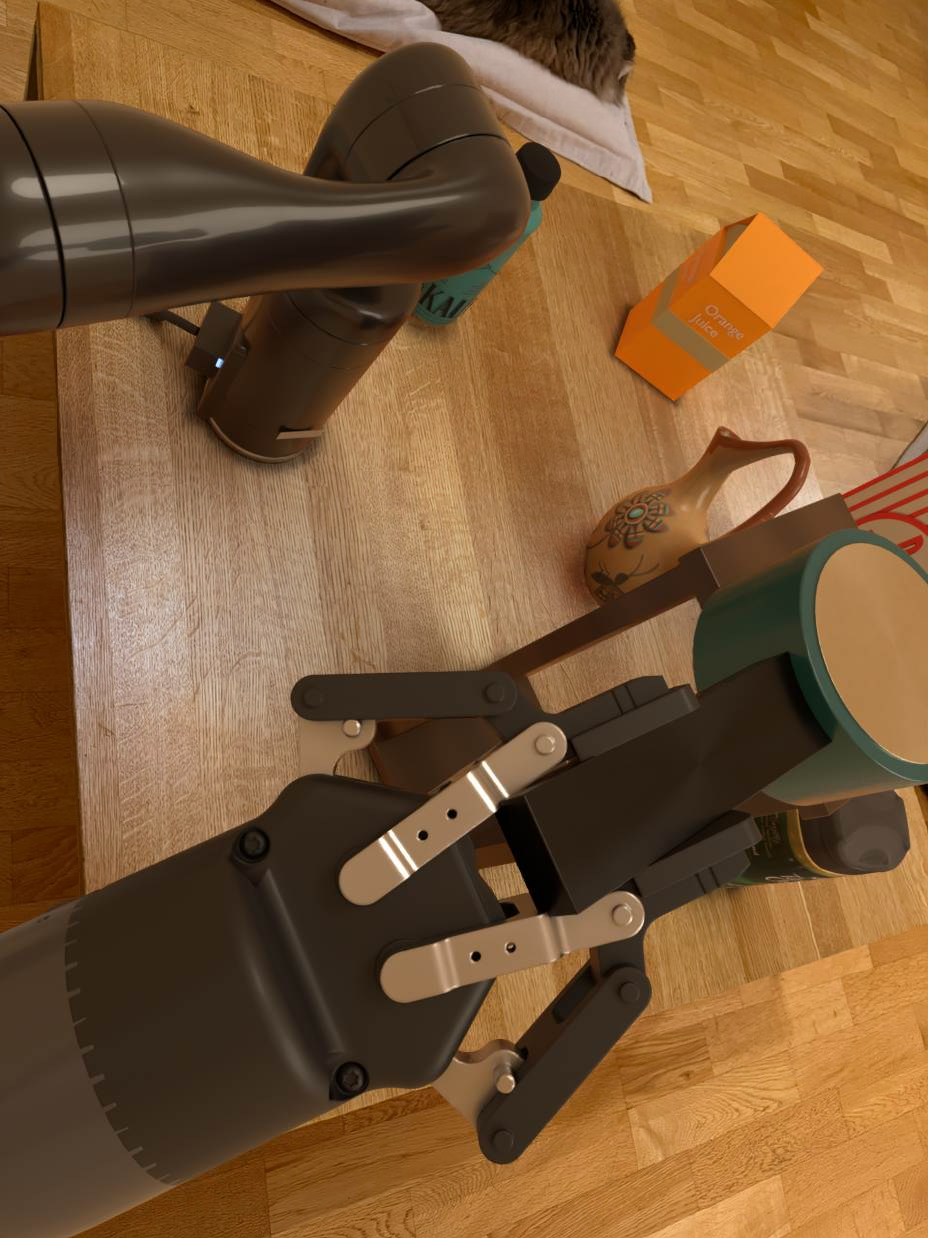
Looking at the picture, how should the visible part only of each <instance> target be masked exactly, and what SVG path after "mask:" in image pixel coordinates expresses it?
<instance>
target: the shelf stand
mask: <svg viewBox="0 0 928 1238" xmlns="http://www.w3.org/2000/svg"><path fill="white" fill-rule="evenodd" d="M842 529H859V528H858V526H857V524H856V522H855V520H854V518H853V516H852V514H851V512H850V510H849V508H848V507H847V505H846V503H845V501H844V499H843V497H842V493H841V492H837V493H835V494H832V495H830V496H829V495H828V496H827V497H824V498H822V499H821V498H820V499H819V500H816V501H814V502H811V503H809V504H806V505H803V506H800V507H798V508H796V509H794V510H791V511H787V512H785V513H782V514H780V515H776V516H775V517H774V518H772V519H770V520H767V521H764V522H762V523H759V524H757V525H754V526H752V527H749V528H746V529H744V530H741V531H739V532H736V533H733V534H731V535H728V536H726V537H723V538H720V539H718V540H715V541H713V542H710V543H708V544H705V545H702V546H700V547H698V548H696V549H694V550H692V551H690V552H688V553H686V554H685V555H683V556H681V557H679V558H678V561H679V563H680V565H679V566H677V567H675V568H673V569H671V570H669V571H667V572H665V573H663V574H661V575H660V576H658V577H656V578H654V579H652V580H650V581H648V582H646V583H644V584H642V585H640V586H639V587H637V588H635V589H633V590H631V591H629V592H627V593H625V594H623V595H621V596H619V597H618V598H616V599H614V600H612V601H610V602H608V603H606V604H604V605H602V606H598V607H596V608H595V609H593V610H591V611H589V612H587V613H585V614H583V615H581V616H579V617H578V618H575V619H573V620H572V621H570V622H568V623H566V624H564V625H562V626H560V627H558V628H556V629H554V630H552V631H551V632H548V633H547V634H545V635H542V636H541V637H539V638H537V639H536V640H534V641H531V642H529V643H527V644H525V645H524V646H522V647H520V648H518V649H516V650H515V651H512V652H511V653H509V654H507V655H505V656H503V657H501V658H499V659H497V660H495V661H493V662H491V663H490V664H487V665H485V666H484V667H482V668H480V669H479V670H499V671H503V672H505V673H507V674H508V675H510V676H511V677H512V678H513V680H514V681H515V683H516V686H517V689H518V690H519V691H520V692H521V693H522V694H523V695H524V696H525V697H526V698H527V699H528V700H529V701H530V702H531V703H532V704H533V705H534V706H535V707H536V708H538V709H539V710H541V711H543V712H544V710H543V708H542V706H541V703H540V702H539V698H538V697H537V695H536V693H535V690H534V688H533V686H532V684H531V681H530V679H529V677H531V676H534V675H535V674H537V673H539V672H542V671H543V670H546V669H547V668H550V667H553V666H554V665H556V664H558V663H560V662H563V661H565V660H567V659H569V658H571V657H574V656H575V655H578V654H580V653H582V652H584V651H587V650H588V649H590V648H592V647H594V646H596V645H598V644H602V643H603V642H604V641H607V640H609V639H612V638H613V637H616V636H617V635H620V634H622V633H624V632H626V631H628V630H630V629H633V628H634V627H636V626H640V625H641V624H644V623H645V622H647V621H650V620H652V619H653V618H656V617H658V616H660V615H663V614H665V613H667V612H669V611H671V610H673V609H674V608H677V607H679V606H681V605H683V604H686V603H687V602H689V601H692V600H694V599H696V601H697V603H698V605H699V607H700V609H701V610H702V609H703V607H704V605H705V603H706V602H707V600H708V599H709V598H710V597H711V595H712V594H713V593H714V592H715V591H716V590H717V589H718V588H719V587H721V586H722V585H724V584H725V583H727V582H729V581H731V580H733V579H735V578H737V577H739V576H741V575H743V574H746V573H748V572H750V571H752V570H754V569H756V568H758V567H760V566H763V565H765V564H767V563H769V562H771V561H773V560H775V559H777V558H780V557H782V556H784V555H786V554H788V553H790V552H792V551H794V550H796V549H799V548H801V547H803V546H805V545H807V544H809V543H811V542H813V541H816V540H818V539H820V538H822V537H824V536H826V535H828V534H830V533H832V532H836V531H839V530H842ZM500 742H501V740H500V739H499V738H498V737H497V736H496V735H495V734H494V733H493V732H492V731H491V730H490V729H489V728H488V727H487V726H486V725H485V724H484V723H483V722H482V721H481V720H480V718H469V719H434V720H398V721H377V730H376V735H375V738H374V739H373V741H372V742H371V743H370V744H369V745H368V746H367V747H366V748H367V749H368V751H369V753H370V756H371V758H372V760H373V764H374V765H375V767H376V769H377V772H378V774H379V776H380V779H381V782H382V784H384V785H389V786H394V787H399V788H404V789H408V790H413V791H418V792H423V793H427V794H428V793H429V792H430V791H432V790H433V789H435V788H436V787H437V786H439V785H440V784H442V783H443V782H444V781H446V780H447V779H448V778H450V777H451V776H453V775H454V774H455V773H457V772H458V771H460V770H461V769H462V768H464V767H465V766H467V765H469V764H470V763H472V762H473V761H475V760H476V759H478V758H479V757H480V756H482V755H483V754H485V753H486V752H487V751H489V750H490V749H492V748H493V747H494V746H496V745H497V744H498V743H500ZM566 763H568V761H565V762H563V763H561V764H559V765H556V766H554V767H553V768H551V769H550V770H549V771H547V772H546V773H544V774H543V775H542V776H544V775H546V774H548V773H549V772H551V771H553V770H555V769H557V768H559V767H561V766H563V765H564V764H566ZM542 776H540V777H542ZM540 777H539V778H540ZM850 799H852V798H848V799H843V800H838V801H832V802H827V803H822V804H817V805H809V806H801V805H793V804H789V803H785V802H781V801H779V800H777V799H775V798H772V797H770V796H768V795H767V794H765V793H764V792H762V791H760V792H758V793H757V794H755V795H754V796H752V797H751V798H749V799H748V800H746V801H745V802H743V803H742V804H741V805H739V806H738V807H736V808H735V809H733V810H737V811H742V812H747V813H751V815H752V817H753V818H754V817H759V816H764V815H770V814H775V813H780V812H785V811H791V810H796V809H798V811H799V813H800V815H801V817H802V819H803V820H807V819H813V818H818V817H824V816H829V815H831V814H832V813H833V812H835V811H836V810H837V809H838V808H840V807H841V806H842V805H844V804H845V803H846V802H848V801H849V800H850ZM468 833H469V835H470V838H471V840H472V842H473V844H474V850H475V856H476V862H477V868H478V871H479V870H483V869H488V868H490V869H491V868H495V867H499V866H504V865H510V864H516V862H515V860H514V858H513V855H512V853H511V851H510V849H509V846H508V844H507V842H506V840H505V838H504V835H503V833H502V831H501V829H500V826H499V824H498V822H497V820H496V817H495V815H494V814H492V815H491V816H490V817H488V818H487V819H486V820H484V821H483V822H481V823H480V824H479V825H477V826H476V827H475V828H473V829H472V830H471V831H469V832H468Z"/></svg>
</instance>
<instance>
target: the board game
mask: <svg viewBox="0 0 928 1238" xmlns="http://www.w3.org/2000/svg"><path fill="white" fill-rule="evenodd" d="M841 495H842V497H843V499H844V501H845V503H846V505H847V507H848V508H849V510H850V512H851V514H852V516H853V518H854V520H855V522H856V524H857V526H858V528H859V529H861V530H866V531H870V532H873V533H876V534H878V535H880V536H883V537H885V538H887V539H888V540H890V541H892V542H893V543H895V544H896V545H898V546H899V547H900V548H902V549H903V550H904V551H905V552H907V553H908V554H909V555H910V556H911V557H912V558H913V559H914V560H915V561H916V562H917V563H918V564H919V565H920V566H921V567H922V568H923V569H924V570H925V572H926V573H927V574H928V451H927V452H926V453H923V454H921V455H919V456H917V457H915V458H913V459H911V460H910V461H907V462H906V463H905V462H904V463H903V464H900V465H899V466H897V467H895V468H893V469H890V470H888V471H887V472H885V473H882V474H881V475H879V476H877V477H875V478H873V479H870V480H868V481H867V482H865V483H863V484H861V485H859V486H857V487H855V488H853V489H851V490H849V491H847V492H844V493H841Z"/></svg>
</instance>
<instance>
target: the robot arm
mask: <svg viewBox="0 0 928 1238" xmlns="http://www.w3.org/2000/svg"><path fill="white" fill-rule="evenodd" d="M515 153H516V152H515V151H514V149H513V147H512V145H511V143H510V141H509V138H508V137H507V135H506V133H505V131H504V129H503V127H502V125H501V123H500V121H499V119H498V117H497V115H496V113H495V111H494V110H493V107H492V105H491V104H490V101H489V99H488V97H487V95H486V94H485V91H484V89H483V88H482V86H481V83H480V82H479V80H478V77H477V76H476V74H475V73H474V71H473V69H472V68H471V66H470V65H469V64H468V62H467V61H466V60H465V58H464V57H463V56H462V54H460V53H459V52H458V51H456V50H455V49H453V48H452V47H450V46H448V45H446V44H442V43H439V42H434V41H416V42H415V41H414V42H410V43H406V44H404V45H403V44H402V45H401V46H398V47H395V48H393V49H391V50H389V51H387V52H386V53H384V54H382V55H381V56H379V57H378V58H377V59H375V60H374V61H372V62H371V63H370V64H369V65H368V66H366V67H365V68H364V69H363V70H362V71H360V72H359V74H358V75H357V76H356V77H354V79H353V80H352V81H351V83H349V85H348V86H347V87H346V89H345V90H344V91H343V93H342V94H341V95H340V97H339V98H338V100H337V101H336V103H335V104H334V106H333V108H332V110H331V111H330V113H329V114H328V117H327V118H326V120H325V122H324V124H323V126H322V128H321V131H320V133H319V135H318V137H317V140H316V142H315V145H314V147H313V149H312V151H311V153H310V156H309V158H308V160H307V163H306V165H305V167H304V170H303V172H302V174H301V173H298V172H295V171H290V170H287V169H284V168H282V167H279V166H277V165H275V164H272V163H269V162H268V161H264V160H261V159H260V158H257V157H254V156H253V155H250V154H248V153H246V152H244V151H242V150H239V149H237V148H235V147H233V146H231V145H229V144H226V143H224V142H222V141H220V140H218V139H216V138H214V137H211V136H209V135H207V134H205V133H202V132H201V131H198V130H196V129H193V128H191V127H189V126H186V125H183V124H181V123H180V122H176V121H174V120H171V119H169V118H167V117H164V116H163V115H159V114H156V113H154V112H150V111H147V110H144V109H141V108H139V107H135V106H132V105H128V104H126V103H125V104H124V103H120V102H115V101H110V100H102V99H82V98H81V99H80V98H79V99H77V98H75V99H72V98H71V99H70V98H69V99H41V100H40V99H39V100H16V101H0V338H3V337H11V336H21V335H29V334H38V333H39V334H40V333H45V332H46V333H47V332H53V331H58V330H65V329H70V328H78V327H82V326H89V325H95V324H103V323H108V322H113V321H119V320H125V319H130V318H134V317H138V316H146V317H149V318H152V319H155V320H158V321H161V322H168V323H169V324H171V325H173V326H175V327H177V328H179V329H181V330H183V331H185V332H187V333H188V334H190V335H192V336H193V337H194V340H193V342H192V345H191V347H190V349H189V352H188V355H187V357H186V359H185V361H184V365H183V366H184V367H186V368H188V369H190V370H192V371H194V372H196V373H198V374H200V375H202V376H204V377H207V380H205V381H206V382H205V384H204V387H203V391H202V392H203V393H202V395H201V398H200V400H199V402H198V405H197V408H196V410H195V415H196V416H198V417H199V418H200V419H203V420H205V421H207V422H208V423H209V425H210V427H211V428H212V430H213V431H214V432H215V434H216V436H217V437H218V438H219V439H220V440H221V441H222V442H223V443H224V444H225V445H227V446H228V447H229V448H230V449H231V450H233V451H234V452H236V453H238V454H239V455H241V456H243V457H245V458H247V459H250V460H253V461H257V462H261V463H268V464H269V463H272V464H274V463H285V462H287V461H288V462H289V461H291V460H293V459H295V458H297V457H299V456H300V455H301V454H303V453H304V452H305V451H306V450H307V449H308V448H309V447H310V445H311V444H312V442H313V441H314V439H315V438H317V437H321V436H322V435H323V434H324V432H325V431H326V429H322V428H323V427H324V425H325V424H326V423H327V422H328V420H329V419H330V418H331V417H332V415H333V414H334V413H335V411H336V410H337V409H338V407H339V406H340V405H341V404H342V403H343V401H344V400H345V399H346V397H347V396H348V395H349V394H350V393H351V391H352V390H353V389H354V387H356V386H357V384H358V382H359V381H361V379H362V377H363V376H364V375H365V374H366V372H367V371H368V370H369V369H370V368H371V366H372V365H373V364H374V362H375V361H377V359H378V357H379V356H380V355H381V354H382V352H383V351H384V350H385V349H386V347H387V346H388V345H389V344H390V342H391V341H392V340H393V338H395V336H396V335H397V333H398V332H399V331H400V329H401V328H402V327H403V326H404V324H405V323H406V322H407V320H409V318H410V317H411V315H412V314H413V311H414V309H415V307H416V305H417V302H418V300H419V296H420V292H421V284H422V283H424V282H432V281H437V280H442V279H446V278H450V277H454V276H458V275H461V274H464V273H466V272H469V271H472V270H474V269H477V268H479V267H482V266H484V265H486V264H488V263H489V262H491V261H493V260H494V259H496V258H498V257H499V256H500V255H502V254H503V253H504V252H506V251H507V250H508V249H510V248H511V247H512V246H513V245H514V244H515V243H516V242H517V240H518V239H519V238H520V236H521V235H522V234H523V232H524V230H525V228H526V226H527V223H528V220H529V217H530V212H531V199H530V194H529V189H528V185H527V182H526V180H525V176H524V173H523V170H522V168H521V165H520V163H519V161H518V159H517V157H516V155H515ZM242 298H248V299H247V301H246V303H245V305H244V307H243V308H242V310H241V312H239V311H237V310H235V309H233V308H231V307H230V306H227V305H225V304H223V303H222V301H228V300H229V301H230V300H235V299H242ZM209 303H210V304H209ZM204 304H209V305H208V307H207V309H206V312H205V314H204V316H203V318H202V320H201V323H200V325H197V324H195V323H193V322H191V321H189V320H188V319H186V318H184V317H183V316H180V315H179V314H176V313H175V312H173V311H171V310H172V309H179V308H185V307H190V306H196V305H204ZM290 691H291V692H290V704H291V708H292V709H293V711H294V713H295V714H296V715H297V717H298V725H297V726H298V777H297V778H296V779H294V780H292V781H291V782H290V783H288V784H287V785H286V786H285V787H284V788H283V789H282V790H281V791H280V793H279V794H278V795H277V797H276V799H275V800H274V801H273V802H272V803H271V805H270V806H269V807H267V809H265V810H264V811H263V812H262V813H260V814H259V815H258V816H256V817H254V818H252V819H250V820H248V821H245V822H244V823H241V824H239V825H236V826H235V827H232V828H230V829H228V830H226V831H224V832H221V833H219V834H217V835H214V836H213V837H211V838H208V839H205V840H203V841H201V842H200V843H196V844H195V845H193V846H190V847H188V848H186V849H184V850H182V851H179V852H177V853H174V854H172V855H170V856H168V857H166V858H163V859H162V860H160V861H156V862H155V863H152V864H151V865H148V866H146V867H143V868H142V869H140V870H137V871H135V872H133V873H130V874H129V875H127V876H126V875H125V876H124V877H122V878H120V879H117V880H115V881H113V882H111V883H109V884H106V885H105V886H104V887H102V888H99V889H95V890H93V891H91V892H89V893H86V894H85V895H82V896H80V897H74V898H71V899H67V900H64V901H62V902H59V903H57V904H54V905H53V906H51V907H49V908H47V909H46V910H45V911H44V912H43V913H42V914H40V915H37V916H36V917H33V918H32V919H30V920H27V921H25V922H23V923H21V924H19V925H16V926H14V927H11V928H9V929H8V930H5V931H3V932H1V933H0V1238H72V1237H74V1236H76V1235H79V1234H81V1233H83V1232H85V1231H87V1230H90V1229H93V1228H94V1227H97V1226H99V1225H101V1224H103V1223H105V1222H107V1221H109V1220H111V1219H113V1218H115V1217H117V1216H120V1215H121V1214H123V1213H125V1212H128V1211H130V1210H131V1209H134V1208H136V1207H138V1206H140V1205H142V1204H144V1203H146V1202H148V1201H150V1200H152V1199H155V1198H156V1197H158V1196H161V1195H162V1194H164V1193H166V1192H168V1191H170V1190H172V1189H174V1188H177V1187H178V1186H180V1185H183V1184H185V1183H186V1182H189V1181H190V1180H192V1179H195V1178H197V1177H199V1176H202V1175H203V1174H205V1173H207V1172H210V1171H211V1170H213V1169H215V1168H217V1167H219V1166H221V1165H223V1164H226V1163H227V1162H229V1161H231V1160H233V1159H235V1158H237V1157H239V1156H241V1155H243V1154H245V1153H247V1152H249V1151H251V1150H253V1149H255V1148H257V1147H259V1146H262V1145H264V1144H265V1143H267V1142H269V1141H272V1140H273V1139H276V1138H278V1137H281V1136H282V1135H283V1134H286V1133H287V1132H289V1131H291V1130H294V1129H296V1128H298V1127H300V1126H302V1125H304V1124H306V1123H308V1122H310V1121H312V1120H314V1119H316V1118H318V1117H320V1116H322V1115H324V1114H327V1113H329V1112H330V1111H333V1110H334V1109H337V1108H339V1107H340V1106H343V1105H344V1104H347V1103H348V1102H350V1101H352V1100H354V1099H355V1098H358V1097H360V1096H361V1095H364V1094H366V1093H368V1092H372V1091H375V1090H381V1089H400V1090H401V1089H403V1090H415V1089H421V1088H425V1087H427V1086H429V1085H430V1086H431V1087H432V1088H433V1089H434V1090H435V1091H436V1092H438V1094H439V1095H440V1096H441V1097H443V1099H444V1100H446V1101H447V1102H448V1103H449V1104H450V1105H451V1107H452V1108H453V1109H454V1110H456V1111H457V1112H458V1113H459V1114H460V1115H461V1116H462V1117H463V1118H464V1119H465V1120H466V1121H467V1122H468V1123H469V1124H470V1125H471V1126H472V1127H473V1128H474V1129H475V1131H476V1135H477V1140H478V1146H479V1148H480V1152H481V1153H482V1155H483V1156H484V1158H486V1159H487V1160H488V1161H489V1162H490V1163H492V1164H496V1165H501V1166H502V1165H503V1166H504V1165H509V1164H512V1163H514V1162H515V1161H517V1160H518V1159H519V1158H520V1157H521V1156H522V1155H523V1153H524V1152H526V1150H527V1149H528V1148H529V1146H531V1144H532V1143H533V1142H534V1141H535V1139H537V1137H538V1136H539V1135H540V1134H541V1132H542V1131H543V1130H544V1129H545V1128H546V1127H547V1125H548V1124H549V1123H550V1122H551V1121H552V1120H553V1118H554V1117H555V1116H556V1115H557V1114H558V1113H559V1111H560V1110H561V1109H562V1108H563V1107H564V1106H565V1105H566V1103H567V1102H568V1101H569V1100H570V1098H571V1097H572V1096H573V1095H574V1094H575V1093H576V1091H577V1090H578V1089H579V1088H580V1086H581V1085H582V1084H583V1083H584V1082H585V1081H586V1080H587V1078H588V1077H589V1076H590V1075H591V1074H592V1073H593V1071H594V1070H595V1069H596V1068H597V1067H598V1066H599V1064H600V1063H601V1062H602V1061H603V1059H604V1058H605V1057H606V1056H607V1055H608V1054H609V1052H610V1051H611V1050H612V1049H613V1048H614V1046H616V1044H617V1043H618V1042H619V1041H620V1040H621V1038H623V1036H624V1035H625V1034H626V1032H627V1031H628V1030H629V1029H630V1027H632V1026H633V1024H634V1023H635V1022H636V1021H637V1019H638V1018H639V1017H640V1016H641V1015H642V1013H643V1012H644V1011H645V1010H646V1009H647V1007H648V1006H649V1005H650V1002H651V1000H652V996H653V988H652V987H653V986H652V984H651V981H650V979H649V977H648V976H647V971H646V960H645V951H644V941H645V936H646V933H647V931H648V929H649V927H650V926H651V925H652V923H654V922H655V921H656V920H657V919H659V918H660V917H663V916H665V915H667V914H669V913H671V912H673V911H675V910H677V909H680V908H681V907H683V906H685V905H687V904H689V903H692V902H694V901H695V900H697V899H699V898H702V897H703V896H705V895H707V894H710V893H712V892H714V891H716V890H717V889H720V888H719V887H722V886H724V885H726V884H728V883H730V882H732V881H734V880H736V879H738V878H739V877H740V876H741V875H742V873H743V872H744V871H745V870H746V869H747V868H748V867H749V866H750V864H751V863H750V861H749V859H748V856H747V854H746V852H745V849H747V848H749V847H751V846H753V845H755V844H757V843H758V842H760V841H761V840H762V836H761V834H760V831H759V829H758V827H757V825H756V823H755V821H754V819H753V817H752V815H751V813H747V812H742V811H737V810H731V811H730V812H728V813H727V814H725V815H724V816H722V817H721V818H719V819H718V820H716V821H715V822H713V823H712V824H710V825H709V826H707V827H706V828H704V829H703V830H701V831H700V832H698V833H697V834H696V835H694V836H693V837H691V838H690V839H688V840H687V841H685V842H684V843H682V844H681V845H679V846H678V847H676V848H675V849H673V850H672V851H670V852H669V853H667V854H666V855H664V856H663V857H662V858H660V859H659V860H657V861H656V862H654V863H653V864H651V865H650V866H648V867H647V868H646V869H645V870H643V871H642V872H640V873H639V874H637V875H636V876H634V877H633V878H631V879H630V880H629V881H627V882H626V883H624V884H623V885H621V886H620V887H618V888H617V889H615V890H614V891H612V892H611V893H609V894H608V895H606V896H605V897H603V898H602V899H601V900H599V901H598V902H596V903H595V904H593V905H592V906H590V907H589V908H587V909H586V910H584V911H583V912H581V913H580V914H578V915H573V916H562V917H552V918H551V916H550V913H549V911H538V910H537V909H536V907H535V905H534V902H533V900H532V898H531V896H530V894H529V892H523V893H520V894H515V895H512V896H507V897H504V898H503V897H502V898H500V899H498V898H497V895H496V893H495V892H494V891H493V889H492V887H490V885H489V883H488V882H487V881H486V880H485V879H484V878H483V876H482V875H481V874H480V873H479V870H478V868H477V862H476V856H475V850H474V844H473V842H472V840H471V838H470V835H469V833H468V832H469V831H471V830H472V829H473V828H475V827H476V826H477V825H479V824H480V823H481V822H483V821H484V820H486V819H487V818H488V817H490V816H491V815H492V814H494V813H495V812H496V811H497V810H499V809H500V808H501V807H502V805H501V804H500V801H501V800H502V799H504V798H506V797H508V796H510V795H512V794H514V793H516V792H518V791H521V790H523V789H524V788H525V787H527V786H528V785H530V784H531V783H532V782H534V781H535V780H536V779H538V778H539V777H540V776H542V775H543V774H544V773H546V772H547V771H549V770H550V769H551V768H553V767H554V766H556V765H559V764H561V763H563V762H565V761H566V762H570V761H577V762H582V761H584V760H586V759H589V758H591V757H593V756H598V755H600V754H602V753H604V752H606V751H608V750H610V749H613V748H615V747H617V746H619V745H621V744H623V743H625V742H628V741H630V740H632V739H634V738H636V737H638V736H641V735H643V734H645V733H647V732H649V731H651V730H653V729H656V728H658V727H660V726H662V725H664V724H666V723H668V722H671V721H673V720H675V719H677V718H679V717H681V716H683V715H686V714H688V713H690V712H692V711H694V710H696V709H698V708H699V707H700V704H699V702H698V700H697V698H696V695H695V694H696V693H695V691H694V689H693V686H692V685H691V683H690V682H689V683H683V684H679V685H674V686H672V687H670V688H669V686H668V684H667V682H666V680H665V677H664V676H663V674H657V675H642V676H638V677H634V678H631V679H629V680H627V681H624V682H622V683H621V684H618V685H616V686H614V687H611V688H609V689H607V690H605V691H602V692H600V693H598V694H596V695H594V696H592V697H590V698H588V699H585V700H583V701H581V702H579V703H577V704H574V705H572V706H570V707H568V708H565V709H563V710H561V711H559V712H556V713H551V712H546V711H544V710H543V711H541V710H539V709H538V708H536V707H535V706H534V705H533V704H532V703H531V702H530V701H529V700H528V699H527V698H526V697H525V696H524V695H523V694H522V693H521V692H520V691H519V690H518V689H517V686H516V683H515V681H514V680H513V678H512V677H511V676H510V675H508V674H507V673H505V672H503V671H499V670H480V669H478V670H477V669H476V670H446V671H445V670H443V671H442V670H441V671H439V670H438V671H405V672H403V671H402V672H401V671H399V672H365V673H360V672H359V673H358V672H357V673H325V674H324V673H321V674H319V673H318V674H308V675H306V676H303V677H301V678H299V679H298V680H297V681H296V682H295V684H293V687H292V689H291V690H290ZM469 718H480V720H481V721H482V722H483V723H484V724H485V725H486V726H487V727H488V728H489V729H490V730H491V731H492V732H493V733H494V734H495V735H496V736H497V737H498V738H499V739H500V740H501V742H500V743H498V744H497V745H496V746H494V747H493V748H492V749H490V750H489V751H487V752H486V753H485V754H483V755H482V756H480V757H479V758H478V759H476V760H475V761H473V762H472V763H470V764H469V765H467V766H465V767H464V768H462V769H461V770H460V771H458V772H457V773H455V774H454V775H453V776H451V777H450V778H448V779H447V780H446V781H444V782H443V783H442V784H440V785H439V786H437V787H436V788H435V789H433V790H432V791H430V792H429V793H428V794H427V793H423V792H418V791H413V790H408V789H404V788H399V787H394V786H389V785H384V783H379V782H374V781H369V780H365V779H361V778H360V779H359V778H354V777H350V776H345V775H340V774H337V773H336V772H337V767H338V764H339V763H340V761H341V760H342V758H343V757H345V756H346V755H347V754H348V753H350V752H354V751H359V750H363V749H365V748H368V747H367V746H368V745H369V744H370V743H371V742H372V741H373V739H374V738H375V735H376V730H377V721H398V720H434V719H469ZM509 946H510V947H509ZM511 946H512V947H511ZM583 950H588V952H589V955H588V956H589V958H588V959H587V961H585V963H584V964H583V965H582V966H581V968H579V970H578V971H577V972H576V973H575V974H574V975H573V977H571V979H570V980H569V981H568V983H567V984H566V985H565V986H564V987H563V988H562V989H561V990H560V992H559V993H558V994H557V995H556V996H555V998H554V999H553V1000H552V1001H551V1002H550V1003H549V1004H548V1006H546V1008H545V1009H544V1010H543V1012H541V1013H540V1015H539V1016H538V1017H537V1018H536V1019H535V1020H534V1021H533V1023H532V1024H531V1025H530V1026H529V1028H527V1029H526V1031H525V1032H524V1033H523V1034H522V1035H521V1037H520V1038H519V1039H518V1040H517V1041H516V1043H514V1042H513V1041H511V1040H508V1039H506V1038H495V1039H492V1040H490V1041H489V1042H486V1043H485V1045H483V1046H482V1047H481V1048H479V1049H477V1050H474V1051H463V1050H459V1049H460V1047H461V1045H462V1043H463V1041H464V1039H465V1038H466V1036H467V1034H468V1033H469V1030H470V1028H471V1027H472V1025H473V1023H474V1021H475V1019H476V1017H477V1015H478V1014H479V1012H480V1010H481V1008H482V1006H483V1004H484V1002H485V1000H486V999H487V997H488V995H489V994H490V992H491V990H492V987H493V986H494V984H495V982H496V980H497V979H498V978H499V977H503V976H506V975H511V974H514V973H518V972H522V971H525V970H529V969H534V968H537V967H542V966H545V965H549V964H552V963H554V962H557V961H559V960H561V959H562V958H563V957H564V956H567V955H569V954H572V953H576V952H579V951H583Z"/></svg>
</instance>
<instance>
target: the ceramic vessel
mask: <svg viewBox="0 0 928 1238" xmlns="http://www.w3.org/2000/svg"><path fill="white" fill-rule="evenodd" d="M786 454H792V455H793V460H794V466H793V469H792V472H791V474H790V477H789V479H788V481H787V482H786V484H785V485H784V486H783V487H782V488H781V489H780V491H778V493H777V494H776V495H775V496H773V498H771V499H770V500H769V501H768V502H767V503H766V504H765V505H763V507H760V509H759V510H757V511H756V512H755V513H754V514H752V515H751V516H750V517H748V518H747V519H746V520H744V521H743V522H742V523H740V524H739V525H737V526H736V527H734V528H732V529H731V530H729V531H726V532H725V533H724V534H721V535H720V536H718V537H716V538H714V539H711V527H710V523H709V519H708V515H709V510H710V507H711V505H712V504H713V503H712V502H713V501H714V499H715V497H716V495H717V494H718V492H719V491H720V489H721V488H722V487H723V485H724V484H725V482H726V481H727V480H728V478H729V477H731V474H732V473H733V472H735V471H737V470H739V469H741V468H744V467H746V466H749V465H751V464H752V465H753V464H755V463H757V462H760V461H763V460H765V459H770V458H773V457H776V456H780V455H786ZM811 463H812V460H811V456H810V452H809V449H808V448H807V446H806V444H804V442H803V441H801V440H799V439H795V438H786V439H778V440H768V441H759V440H757V441H756V440H745V439H742V438H741V436H739V435H738V434H737V433H735V432H734V431H732V430H731V429H730V428H727V427H726V426H723V425H719V426H718V427H717V429H716V431H715V432H714V434H713V436H712V438H711V440H710V442H709V444H708V446H707V447H706V449H705V451H704V453H702V455H701V457H700V458H699V460H698V461H697V462H696V463H695V464H694V466H692V467H691V468H690V469H689V470H688V471H687V472H686V473H684V474H683V475H682V476H680V477H678V478H677V479H675V480H673V481H670V482H667V483H664V484H663V483H662V484H656V485H650V486H646V487H642V488H639V489H637V490H635V491H631V492H630V493H629V494H627V495H625V496H624V497H621V499H619V500H618V501H617V502H615V503H614V504H613V505H612V506H611V507H609V508H608V510H607V511H606V512H605V513H604V514H603V515H602V516H601V518H600V519H599V520H598V522H597V523H596V525H595V527H594V528H593V530H592V532H591V534H590V537H589V539H588V540H587V544H586V547H585V551H584V557H583V577H584V578H583V579H584V582H585V586H586V588H587V591H588V593H589V595H590V597H591V599H592V600H593V601H594V603H596V604H597V606H598V607H600V606H602V605H604V604H606V603H608V602H610V601H612V600H614V599H616V598H618V597H619V596H621V595H623V594H625V593H627V592H629V591H631V590H633V589H635V588H637V587H639V586H640V585H642V584H644V583H646V582H648V581H650V580H652V579H654V578H656V577H658V576H660V575H661V574H663V573H665V572H667V571H669V570H671V569H673V568H675V567H677V566H679V565H680V563H679V561H678V558H679V557H681V556H683V555H685V554H686V553H688V552H690V551H692V550H694V549H696V548H698V547H700V546H702V545H705V544H708V543H710V542H713V541H715V540H718V539H720V538H723V537H726V536H728V535H731V534H733V533H736V532H739V531H741V530H744V529H746V528H749V527H752V526H754V525H757V524H759V523H762V522H764V521H767V520H770V519H772V518H775V517H777V516H778V515H779V513H780V512H782V511H783V510H784V509H785V508H786V507H787V506H788V505H789V504H790V503H791V502H793V500H794V499H795V498H796V497H797V495H798V494H799V493H800V491H801V490H802V489H803V486H804V485H805V483H806V481H807V477H808V474H809V471H810V468H811V467H810V466H811Z"/></svg>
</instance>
